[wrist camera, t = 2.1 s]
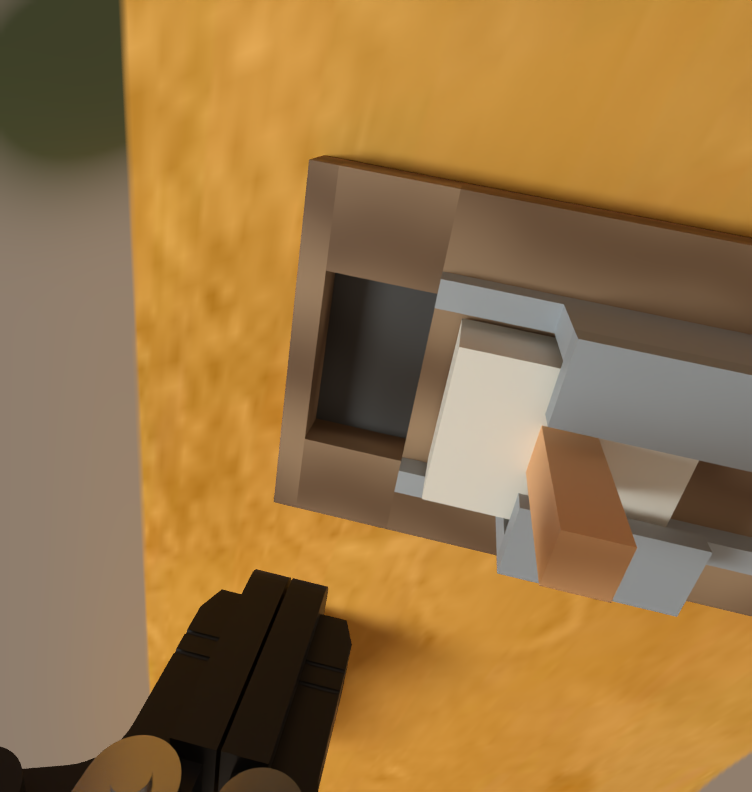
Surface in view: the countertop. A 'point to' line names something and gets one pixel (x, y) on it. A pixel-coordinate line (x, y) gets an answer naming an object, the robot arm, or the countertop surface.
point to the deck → (438, 330)
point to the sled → (543, 462)
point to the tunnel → (627, 420)
